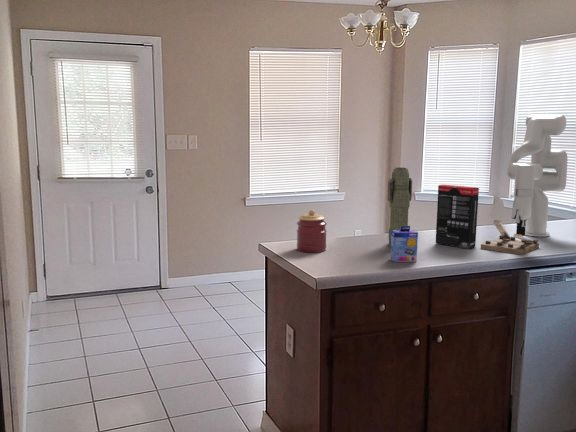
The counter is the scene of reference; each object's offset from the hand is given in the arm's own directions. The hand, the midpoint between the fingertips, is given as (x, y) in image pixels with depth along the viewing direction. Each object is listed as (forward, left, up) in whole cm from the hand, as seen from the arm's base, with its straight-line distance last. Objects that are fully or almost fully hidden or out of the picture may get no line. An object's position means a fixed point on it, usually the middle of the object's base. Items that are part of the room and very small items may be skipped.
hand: (520, 235), depth 243 cm
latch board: (-4, -6, -7) cm, 10 cm away
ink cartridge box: (+49, -28, -7) cm, 57 cm away
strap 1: (-5, -10, 0) cm, 11 cm away
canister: (+59, -68, -7) cm, 90 cm away
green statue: (+24, -46, -7) cm, 52 cm away
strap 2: (-4, 0, -3) cm, 5 cm away
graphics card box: (+8, -26, -7) cm, 28 cm away
